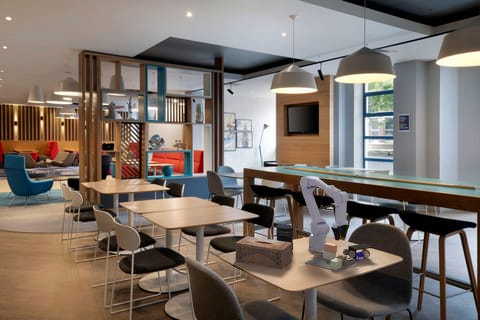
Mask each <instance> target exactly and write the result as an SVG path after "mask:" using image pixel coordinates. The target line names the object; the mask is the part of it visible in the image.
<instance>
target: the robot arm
mask: <svg viewBox="0 0 480 320" xmlns="http://www.w3.org/2000/svg"><path fill="white" fill-rule="evenodd" d="M299 185H300V188H301V190H302V191H301V192H302V196H303V199H304V201H305V205H306V207H307V210H308V213H309V215H310V218H311V222H310V224H309V225H310V232H311V234H309V237H308V249H307V250H308V251H312V252H315V253H319V254H323V251H324V244H325V243H327V236H328V234H329V232H330V229H331V230H332V233H333V238H334V240H335V241H337V242H338V241H340V240H341V238H343V239H346V236H347V233H348V229H349V228H350V224H349V220H348V219H347V204H348V203H347V202H348V201H349V200H350V195H349V193H348V192H346V191H342V190H341V189H339V188H337V187H335V185H333V184H331V185H328V184H327V183H325V182H324V181H323V180H321V179H320V177H319V176H316V175H309V176H306V175H305V176H302V177H300V180H299ZM317 187H318V188H320V189H322V191H325V194H326V195H327V196H328V197H330V198H331V199H333V202H334V205H335V210H334V211H335V214H334V215H335V216H334V217H335V219H334V223H333V224H332V226H331V227H330V226H329V224H328V223H327V221H326V219H324V218H323V217H322V215H321V213H320V211H319V207H318V204H317V203H316V199H315V197H314V194H313V192H314V191H315V189H316V188H317Z"/></svg>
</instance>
